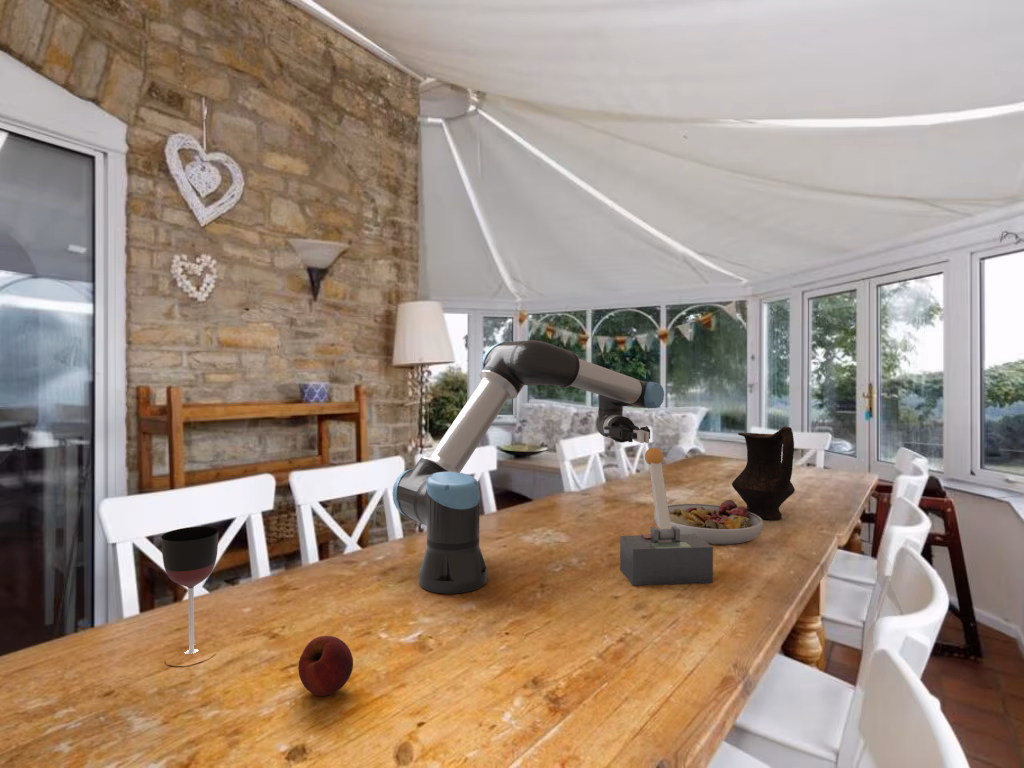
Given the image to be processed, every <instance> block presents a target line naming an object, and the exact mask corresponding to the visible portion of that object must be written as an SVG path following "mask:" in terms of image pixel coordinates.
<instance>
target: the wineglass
mask: <svg viewBox="0 0 1024 768" xmlns="http://www.w3.org/2000/svg"><path fill="white" fill-rule="evenodd" d="M160 540H161V556H162V562H163V566H164V567H163V568H164V571H165V573H166V574H167V577H168V578H169V580H170V581H172V582H173V583H176V584H177V585H180V586H183V587H187V593H188V596H187V597H188V599H187V601H188V603H187V604H188V605H187V606H188V646H189V650H187V651H186V652H184V653H185V654H192V653H193V654H194V653H196V652H198V651H199V650H198V649H194V645H195V608H194V607H195V604H194V603H195V599H194V598H195V596H194V595H195V594H194V593H195V590H194V589H195V586H197V585H199V584H201V583H202V582H204V581H205V580H206V579H207V578H208V577H210V575H211V574H212V572H213V571H214V568H215V566H216V563H217V556H218V551H219V550H218V547H219V529H218V528H216V527H212V526H192V527H184V528H178V529H174V530H171V531H168V532H166V533H164V534H162V535H161V539H160Z"/></svg>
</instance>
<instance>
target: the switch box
mask: <svg viewBox="0 0 1024 768" xmlns="http://www.w3.org/2000/svg"><path fill="white" fill-rule="evenodd" d="M657 528H658V527H655V526H651V527H650V533H641V534H639V535H619V539H620V540H619V544H620V545H619V570H620V571H621V573H622V574H623V575H624V577H625V578H626V579H627V580H628V581H629V582H630V584H631V585H632V587H635V586H636V587H639V586H664V585H665V586H667V585H671V586H672V585H696V584H700V585H701V584H714V583H713V582H714V546H712V544H708V543H706V542H705V541H704V540H702V539H701V538H699V537H698V536H696V535H695V534H680V529H679V528H677V527H676V526H674V527H672V529H673V532H674V537H673V539H661V540H659V539H658V529H657Z"/></svg>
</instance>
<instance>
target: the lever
mask: <svg viewBox="0 0 1024 768" xmlns="http://www.w3.org/2000/svg"><path fill="white" fill-rule="evenodd" d="M644 461H645V462H646V463H647V465H648V467H649V474H650V481H651V489H652V496H653V505H654V511H655V512H656V519H657V524H656V526H657V527H656V528H657V529H658V539H659V540H661V539H673V537H674V532H673V529H672V528H671V524H670V517H669V511H668V498H667V491H666V485H665V484H666V483H665V477H664V471H663V466H662V464H663V462H664V453H663V452H662V450H660V449H659V448H657V447H650V448H649V449H647V450H646V451H645V454H644Z"/></svg>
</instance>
